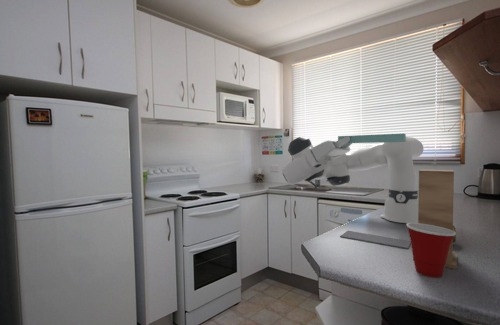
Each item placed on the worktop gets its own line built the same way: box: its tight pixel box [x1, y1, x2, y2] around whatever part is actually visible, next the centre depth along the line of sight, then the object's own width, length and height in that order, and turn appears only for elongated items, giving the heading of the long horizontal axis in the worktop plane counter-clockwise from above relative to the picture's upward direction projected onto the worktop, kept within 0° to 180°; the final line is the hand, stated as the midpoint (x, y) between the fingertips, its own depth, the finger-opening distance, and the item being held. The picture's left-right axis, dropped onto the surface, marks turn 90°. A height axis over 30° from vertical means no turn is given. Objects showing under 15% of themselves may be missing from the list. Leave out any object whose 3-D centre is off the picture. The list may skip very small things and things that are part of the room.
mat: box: [339, 230, 411, 250], centre depth 98 cm, size 9×22×1 cm, turn 53°
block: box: [337, 133, 407, 144], centre depth 90 cm, size 4×20×2 cm, turn 53°
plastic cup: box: [405, 223, 457, 278], centre depth 70 cm, size 11×11×12 cm
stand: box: [412, 168, 458, 270], centre depth 79 cm, size 11×10×26 cm
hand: (352, 138), depth 93 cm, fingers closed on block, 4 cm apart
